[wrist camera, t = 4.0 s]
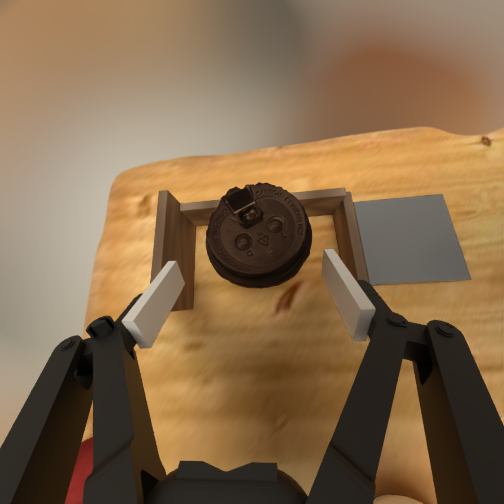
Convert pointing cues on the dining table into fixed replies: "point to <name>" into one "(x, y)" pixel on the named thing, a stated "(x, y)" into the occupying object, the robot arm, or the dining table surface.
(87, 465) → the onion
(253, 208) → the coffee cup
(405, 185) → the dining table surface
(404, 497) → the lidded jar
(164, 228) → the u-shaped wooden frame
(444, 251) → the slate pad
